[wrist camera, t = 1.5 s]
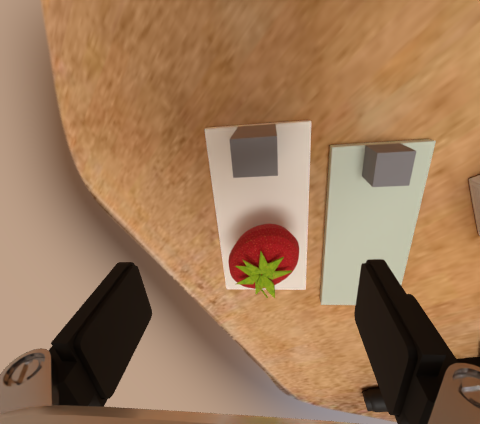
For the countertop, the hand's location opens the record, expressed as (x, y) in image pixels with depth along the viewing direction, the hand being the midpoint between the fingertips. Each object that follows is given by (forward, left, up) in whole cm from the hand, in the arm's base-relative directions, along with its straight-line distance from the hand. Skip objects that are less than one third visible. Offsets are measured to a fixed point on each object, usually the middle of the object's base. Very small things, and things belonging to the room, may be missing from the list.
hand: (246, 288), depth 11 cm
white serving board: (+6, 0, -18) cm, 19 cm away
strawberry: (+8, 0, -18) cm, 20 cm away
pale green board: (+8, +11, -18) cm, 23 cm away
